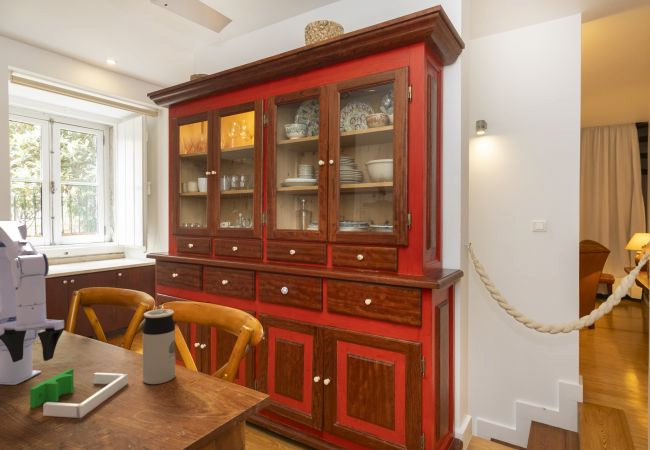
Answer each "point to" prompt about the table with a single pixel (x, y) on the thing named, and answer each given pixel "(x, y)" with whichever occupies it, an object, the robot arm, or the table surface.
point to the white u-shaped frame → (82, 409)
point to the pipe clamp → (52, 389)
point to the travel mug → (158, 346)
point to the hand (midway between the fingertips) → (33, 360)
